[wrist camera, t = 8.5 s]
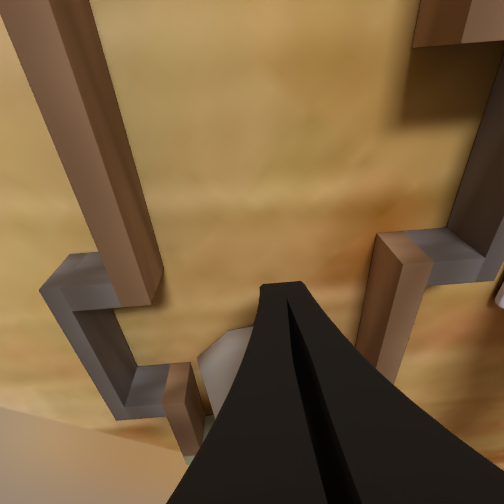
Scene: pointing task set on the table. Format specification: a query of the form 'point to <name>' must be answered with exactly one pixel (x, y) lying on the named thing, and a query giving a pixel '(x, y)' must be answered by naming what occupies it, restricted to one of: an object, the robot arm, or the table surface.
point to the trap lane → (142, 235)
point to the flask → (223, 364)
